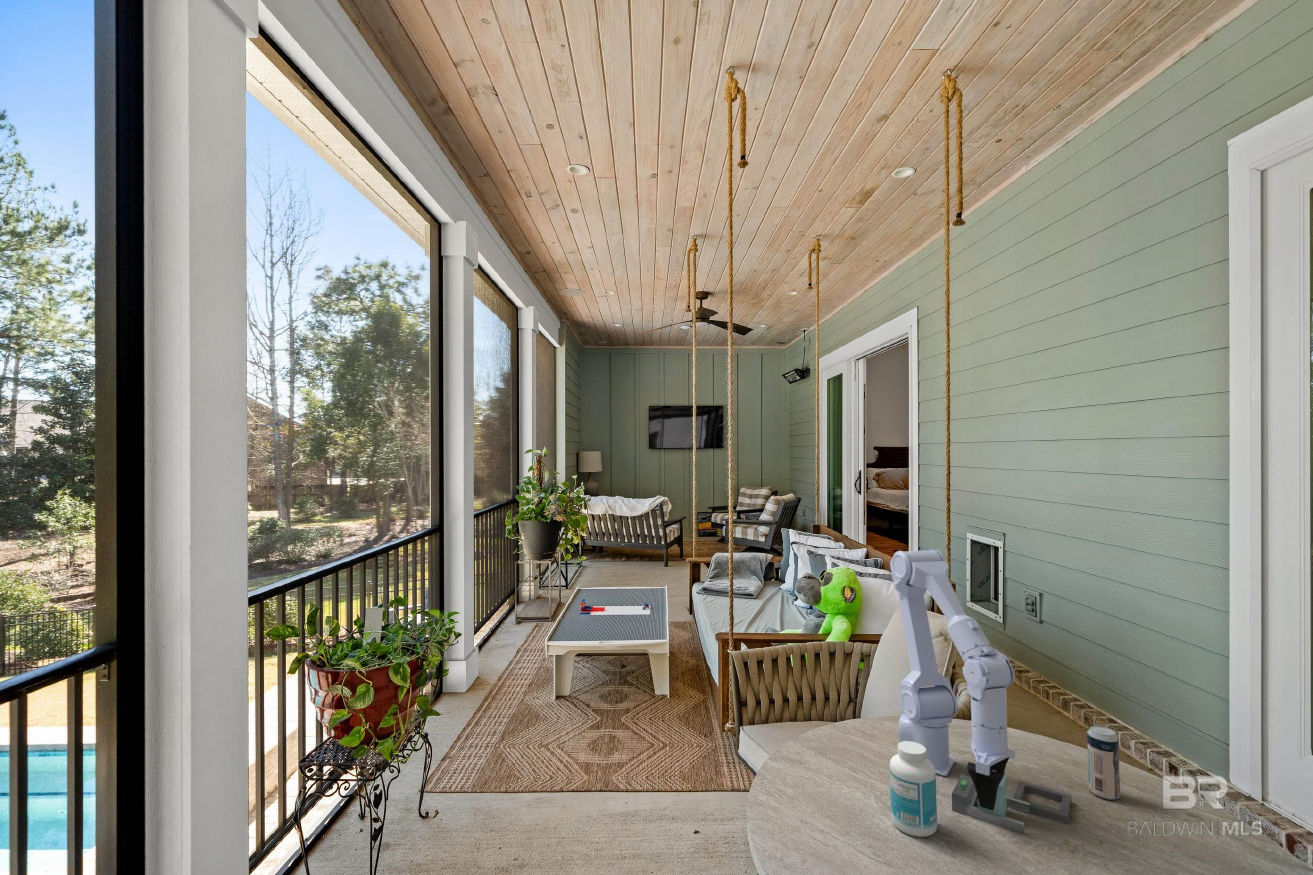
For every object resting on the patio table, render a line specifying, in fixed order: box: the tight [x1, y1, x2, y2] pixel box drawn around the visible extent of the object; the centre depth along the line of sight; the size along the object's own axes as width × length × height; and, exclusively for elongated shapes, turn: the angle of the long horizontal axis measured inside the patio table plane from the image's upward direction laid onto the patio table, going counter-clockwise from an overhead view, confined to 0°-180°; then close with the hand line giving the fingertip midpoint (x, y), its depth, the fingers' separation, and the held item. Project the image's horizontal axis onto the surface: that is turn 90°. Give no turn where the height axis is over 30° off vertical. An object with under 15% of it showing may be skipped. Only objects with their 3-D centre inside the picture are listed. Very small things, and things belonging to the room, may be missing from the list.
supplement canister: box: [1086, 725, 1121, 801], centre depth 113 cm, size 5×5×12 cm
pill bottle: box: [889, 741, 938, 838], centre depth 103 cm, size 8×7×14 cm
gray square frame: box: [1012, 779, 1072, 825], centre depth 109 cm, size 8×8×1 cm
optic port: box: [951, 773, 1031, 835], centre depth 107 cm, size 11×8×4 cm
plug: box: [977, 770, 1008, 817], centre depth 107 cm, size 4×4×7 cm
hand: (990, 797), depth 107 cm, fingers open, 7 cm apart
